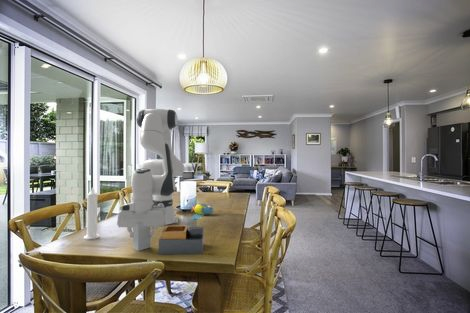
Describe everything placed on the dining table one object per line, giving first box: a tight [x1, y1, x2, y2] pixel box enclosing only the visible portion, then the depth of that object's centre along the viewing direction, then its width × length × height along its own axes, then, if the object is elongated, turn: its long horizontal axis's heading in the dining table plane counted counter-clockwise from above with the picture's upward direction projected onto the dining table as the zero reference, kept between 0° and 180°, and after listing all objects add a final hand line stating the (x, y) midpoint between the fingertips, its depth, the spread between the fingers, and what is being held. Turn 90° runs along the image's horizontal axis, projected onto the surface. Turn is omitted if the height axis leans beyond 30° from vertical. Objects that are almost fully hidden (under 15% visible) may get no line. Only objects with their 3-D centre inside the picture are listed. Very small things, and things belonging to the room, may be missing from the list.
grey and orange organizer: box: [158, 225, 205, 256], centre depth 112 cm, size 12×18×9 cm, turn 95°
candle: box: [83, 187, 101, 241], centre depth 127 cm, size 7×7×25 cm
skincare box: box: [132, 222, 151, 252], centre depth 113 cm, size 6×4×12 cm
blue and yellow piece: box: [189, 202, 214, 221], centre depth 180 cm, size 28×9×15 cm
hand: (141, 236), depth 113 cm, fingers closed on skincare box, 7 cm apart
